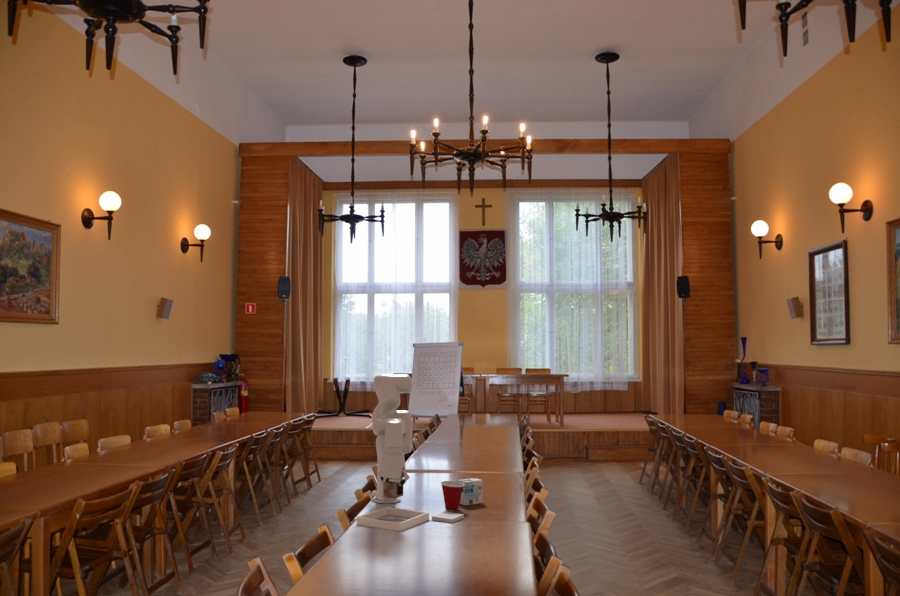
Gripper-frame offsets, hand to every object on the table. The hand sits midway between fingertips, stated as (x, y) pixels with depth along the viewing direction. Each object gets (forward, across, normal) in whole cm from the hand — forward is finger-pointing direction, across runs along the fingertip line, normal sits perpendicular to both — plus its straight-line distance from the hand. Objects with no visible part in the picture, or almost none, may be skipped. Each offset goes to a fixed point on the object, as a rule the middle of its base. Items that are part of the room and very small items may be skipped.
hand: (393, 493), depth 295 cm
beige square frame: (+12, +1, -1) cm, 12 cm away
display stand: (+12, +18, +15) cm, 26 cm away
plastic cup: (+12, +11, +31) cm, 35 cm away
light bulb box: (+13, +11, +47) cm, 50 cm away
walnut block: (+1, 0, 0) cm, 1 cm away
